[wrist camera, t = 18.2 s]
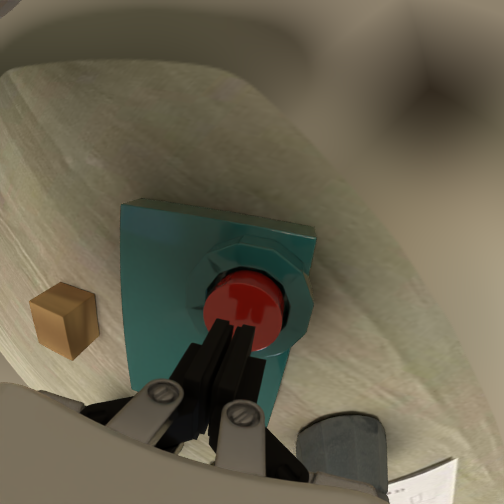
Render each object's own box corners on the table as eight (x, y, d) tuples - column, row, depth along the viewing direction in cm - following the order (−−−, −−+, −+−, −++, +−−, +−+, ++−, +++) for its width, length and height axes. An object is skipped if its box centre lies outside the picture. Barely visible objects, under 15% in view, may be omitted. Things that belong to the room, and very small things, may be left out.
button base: (141, 197, 20) (103, 208, 15) (322, 228, 18) (328, 249, 14) (144, 371, 25) (122, 402, 20) (275, 406, 23) (269, 445, 19)
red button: (216, 263, 16) (205, 275, 14) (291, 277, 15) (289, 292, 14) (209, 326, 17) (200, 342, 15) (277, 340, 16) (273, 359, 15)
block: (60, 281, 23) (28, 300, 19) (94, 293, 23) (62, 317, 19) (66, 321, 25) (38, 343, 21) (99, 335, 24) (72, 361, 20)
